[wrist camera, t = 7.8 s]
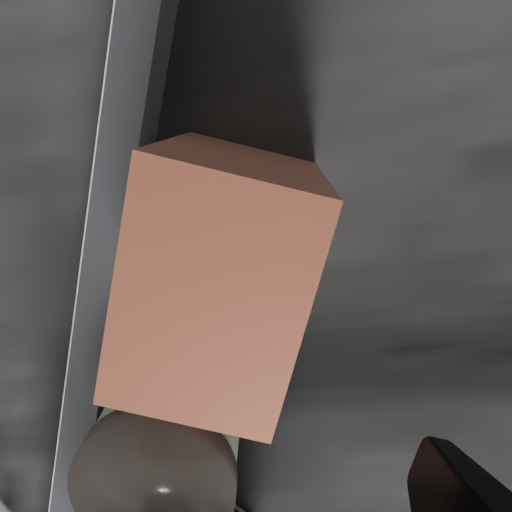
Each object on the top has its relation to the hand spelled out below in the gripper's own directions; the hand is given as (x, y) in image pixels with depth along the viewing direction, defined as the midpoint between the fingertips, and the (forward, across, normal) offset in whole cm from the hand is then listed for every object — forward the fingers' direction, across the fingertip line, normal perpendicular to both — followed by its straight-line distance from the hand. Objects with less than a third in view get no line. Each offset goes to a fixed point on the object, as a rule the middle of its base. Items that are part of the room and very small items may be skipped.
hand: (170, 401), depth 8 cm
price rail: (+12, +4, +6) cm, 14 cm away
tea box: (+12, 0, 0) cm, 12 cm away
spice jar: (+12, 0, +8) cm, 14 cm away
